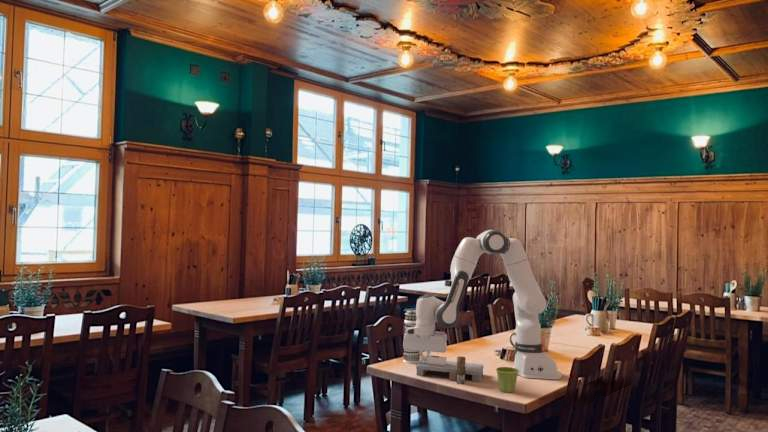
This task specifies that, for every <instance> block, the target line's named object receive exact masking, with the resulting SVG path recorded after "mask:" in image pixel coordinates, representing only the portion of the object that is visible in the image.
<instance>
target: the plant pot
mask: <svg viewBox="0 0 768 432" xmlns="http://www.w3.org/2000/svg"><path fill="white" fill-rule="evenodd" d="M495 371H496V373H497V381H498V386H499V388H498V389H499V390H500V392H503V393H506V392H507V393H514V392H515V391H516V387H517V386H516V385H517V378H518V376H519V375H518V372H519V370H518V369H516V368H513V367H509V366H500V367H497V368H495ZM507 393H506V394H507Z"/></svg>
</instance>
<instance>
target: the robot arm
mask: <svg viewBox="0 0 768 432" xmlns="http://www.w3.org/2000/svg"><path fill="white" fill-rule="evenodd" d="M454 252H455V253H454V255H453V258H452V260H451V262H450V263H451V264H450V269H449V270H450V271H449V272H450V275H451V285H450V289H449V292H448V295H447V298H446V301H443V300H441V299H439V298H437V297H435V296H434V295H433V294H425V295H421V296H419V297H418V298H417V299H416V306H415V310H416V317H417V320H416V326H413V327H410V328H407V329H406V335H405V336H404V335H403V340H402V341H403V342H402V348H403V350H404V349H407V350H419V354H420V361H427V357H428V356H429V355H431V353H432V352H433V353H443V354H444V353H446V352H447V350H448V345H447V344H448V343H447V342H448V334H447V333H446V332H445V331H437V330H435V329H436V323H438V325H439V326H441V328H445V329H451V328H454V327H456V325H457V324H458V323H459V321H460V306H461V303H462V300H463V298H464V295H465V291H466V288H467V286H468V283H469V282H470V279H471V277H472V276H473V273H474V272H475V269H476V266H477V263H478V260H479V258H480V257H481V255H482V254H488V255H489V254H490V255H497V254H498V255H500V257H501V259H502V261H503V265H504V267H505V271H506V274H507V277H508V280H509V282H510V284H511V286H512V287H513V289H514V292H513V295H512V302H513V308H514V317H515V342H514V362H513V366H512V368H516V369H518V370H519V372H518V375H517V376H520V377H522V378H525V379H542V380H561V379H562V378H563V372H561V371H560V370H558V365H557V362H556V360H555V359H553V357H551V356H550V355H549V354H547V353H546V352H545V351H546V345H545V344H543V343H541V332H542V331H541V330H542V328H541V327H542V326H541V323H540V320H539V319H540V318H539V314H542V313H543V312H544V311H545V310H546V307H547V300H546V298H545V296H544V293H542V290H541V287H540V286H539V284H538V282H537V279H536V278H535V275H534V274H533V270H532V267H531V265H530V262H529V258H528V255H527V253H526V251H525V248H524V246H523V244H522V242H521V241H520V240H519V239H518V238H516V237H507V236H506V235H505V234H504V233H503V232H501V231H499V230H494V229H487V230H484V231H481V232H480V233H479V234H478V235H475V237H471V236H467V237H463V239H462V240H461V241H460V243H459V244H458V246H457V248H456V250H455V251H454ZM423 352H426V356H424V354H423Z"/></svg>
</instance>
